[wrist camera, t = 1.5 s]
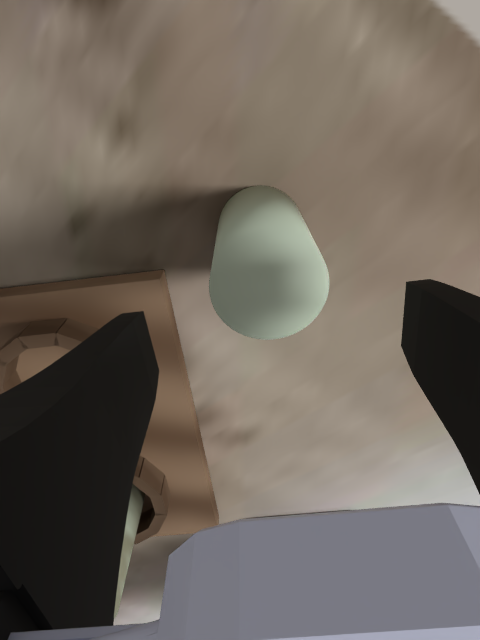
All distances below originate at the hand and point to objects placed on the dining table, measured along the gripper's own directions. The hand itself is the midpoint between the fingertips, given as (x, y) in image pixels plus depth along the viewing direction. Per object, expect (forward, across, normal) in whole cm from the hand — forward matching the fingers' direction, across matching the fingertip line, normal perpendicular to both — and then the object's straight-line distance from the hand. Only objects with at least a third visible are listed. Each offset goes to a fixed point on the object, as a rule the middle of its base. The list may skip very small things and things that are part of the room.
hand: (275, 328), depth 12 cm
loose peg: (+10, 0, 0) cm, 10 cm away
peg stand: (+9, +11, +11) cm, 18 cm away
